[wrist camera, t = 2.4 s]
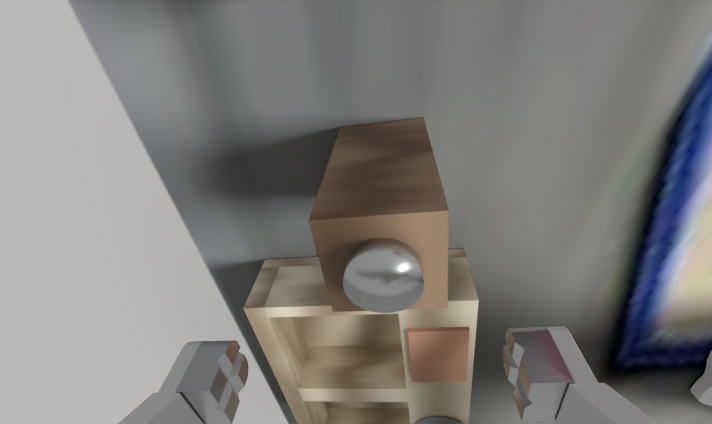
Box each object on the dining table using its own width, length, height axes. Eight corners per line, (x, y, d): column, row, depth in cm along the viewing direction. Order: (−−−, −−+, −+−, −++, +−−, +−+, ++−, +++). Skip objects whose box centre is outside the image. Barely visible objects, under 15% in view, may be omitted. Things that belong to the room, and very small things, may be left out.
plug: (423, 117, 20) (453, 227, 11) (425, 190, 23) (451, 328, 14) (340, 126, 21) (303, 237, 12) (352, 196, 23) (329, 330, 14)
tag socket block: (463, 248, 25) (479, 304, 21) (456, 403, 37) (466, 460, 33) (265, 259, 27) (241, 311, 23) (319, 402, 39) (310, 455, 35)
